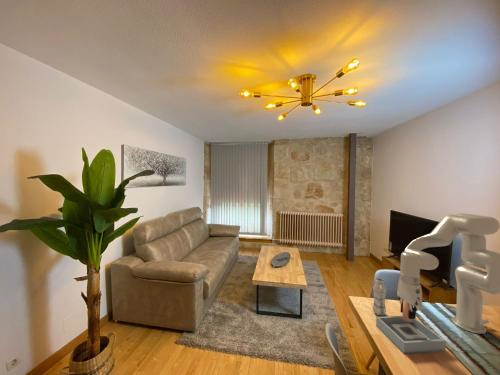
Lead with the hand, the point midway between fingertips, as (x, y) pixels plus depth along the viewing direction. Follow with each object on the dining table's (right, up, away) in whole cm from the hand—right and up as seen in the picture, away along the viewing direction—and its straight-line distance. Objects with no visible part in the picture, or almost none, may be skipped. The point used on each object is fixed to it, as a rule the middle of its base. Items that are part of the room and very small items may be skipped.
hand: (407, 315), depth 103 cm
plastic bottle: (-2, -11, +19) cm, 22 cm away
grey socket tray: (0, -11, 0) cm, 12 cm away
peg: (0, -2, 0) cm, 2 cm away
